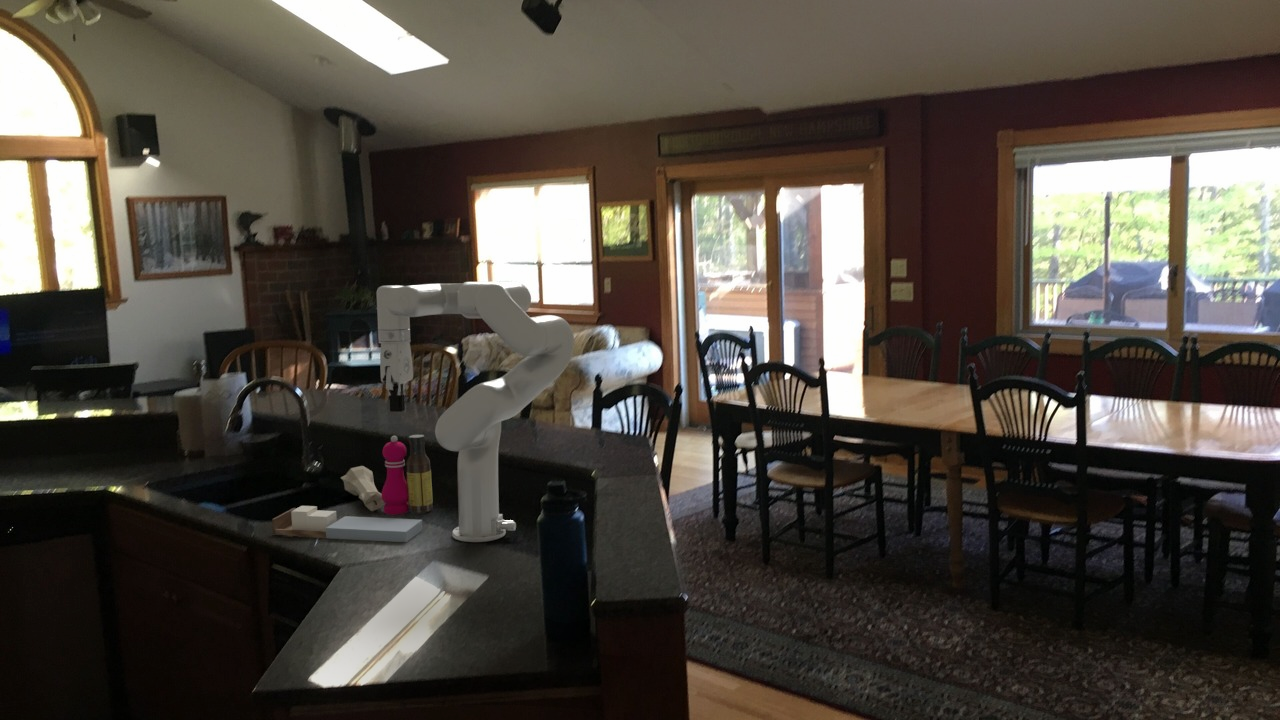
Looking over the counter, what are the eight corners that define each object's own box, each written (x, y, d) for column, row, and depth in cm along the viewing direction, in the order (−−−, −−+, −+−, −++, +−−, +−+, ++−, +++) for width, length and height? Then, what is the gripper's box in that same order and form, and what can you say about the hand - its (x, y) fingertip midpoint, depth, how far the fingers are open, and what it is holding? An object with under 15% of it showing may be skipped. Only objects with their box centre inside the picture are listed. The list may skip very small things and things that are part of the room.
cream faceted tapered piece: (375, 486, 277) (397, 512, 256) (346, 498, 274) (365, 525, 252) (366, 458, 275) (387, 481, 253) (336, 469, 271) (355, 494, 250)
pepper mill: (401, 516, 250) (398, 439, 248) (376, 513, 253) (373, 437, 250) (416, 509, 257) (413, 433, 255) (392, 506, 259) (389, 432, 257)
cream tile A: (337, 527, 240) (336, 511, 239) (327, 533, 235) (326, 516, 234) (317, 526, 241) (317, 510, 240) (307, 532, 236) (307, 515, 235)
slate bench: (422, 529, 239) (422, 519, 238) (406, 542, 229) (406, 531, 229) (345, 526, 242) (345, 516, 242) (326, 538, 232) (325, 527, 232)
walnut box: (345, 526, 242) (344, 510, 241) (326, 538, 232) (325, 521, 232) (294, 523, 244) (293, 507, 244) (272, 535, 234) (272, 519, 234)
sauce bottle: (431, 506, 260) (429, 432, 257) (434, 512, 254) (432, 437, 251) (406, 508, 257) (404, 434, 255) (409, 515, 252) (406, 438, 249)
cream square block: (316, 506, 240) (301, 505, 240) (306, 511, 235) (291, 511, 236) (317, 526, 240) (302, 525, 241) (307, 532, 236) (292, 531, 236)
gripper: (397, 339, 230) (401, 416, 232) (419, 333, 245) (422, 406, 247) (367, 339, 231) (370, 416, 233) (391, 333, 246) (394, 405, 248)
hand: (397, 410), depth 240 cm, fingers closed
